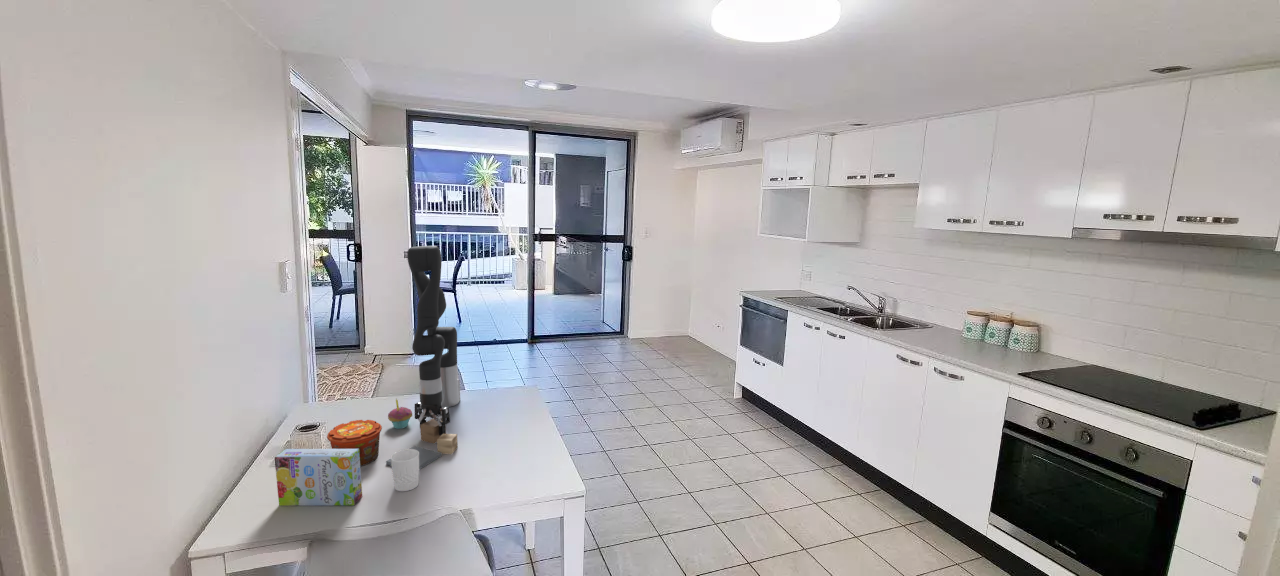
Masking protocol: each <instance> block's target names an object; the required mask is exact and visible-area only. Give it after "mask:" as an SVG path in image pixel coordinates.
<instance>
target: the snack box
mask: <svg viewBox="0 0 1280 576" xmlns="http://www.w3.org/2000/svg"><path fill="white" fill-rule="evenodd" d="M274 466H275V477H276V489H277V497H278V506H280V507H283V506H287V507H288V506H289V507H290V506H296V507H297V506H303V507H304V506H305V507H306V506H309V507H310V506H318V507H319V506H321V507H322V506H327V507H328V506H355V505H356V504H357V503H358V502H359V500H361V499H362V497H363V486H362V473H361V472H362V471H361V466H360V454H359V449H332V448H285V449H284V450H282V451H281V452H280V453H278V454H277V455H276V456H274Z"/></svg>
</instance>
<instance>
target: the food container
mask: <svg viewBox="0 0 1280 576" xmlns="http://www.w3.org/2000/svg"><path fill="white" fill-rule="evenodd" d="M382 429H383V427H382V425H381V424H380V423H379V422H377V421H376V420H372V419H366V420H363V419H355V420H351V421H349V422H347V423H340V424H337V425H336V426H334V427H333V428H332V429H330V431H329V432H328V433H327V434H326V437H327V438H326V439H327V440H328V441H329V443H330V448H331V449H359V454H360V467H362V466H366V465H368V464H371V463H373V462H375V460H376V459H377V458H378V456H379V451H380V438H381V437H380V434H381V432H382Z"/></svg>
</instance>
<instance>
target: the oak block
mask: <svg viewBox="0 0 1280 576" xmlns="http://www.w3.org/2000/svg"><path fill="white" fill-rule="evenodd" d="M436 448H437V449H436V450H437V452H441V453H442V455H445V454H447V455H453V454H454V453H455V451H456V450H457V449H458V433H446V434H442V435H441V436H440V437H439V438H438V440H437V442H436Z"/></svg>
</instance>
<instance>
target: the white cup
mask: <svg viewBox="0 0 1280 576" xmlns="http://www.w3.org/2000/svg"><path fill="white" fill-rule="evenodd" d="M390 459H391V466H390V467H391V471H392V473H391V474H392V481H393V485H394V489H395V491H397V492H407V491H409V492H410V491H411V490H414V489H415V488H417V487H418V486H419V484H420V469H419V451H417V450H415V449H409V448H407V449H401V450H398V451H395V452H394V453H392V454H391V455H390Z"/></svg>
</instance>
